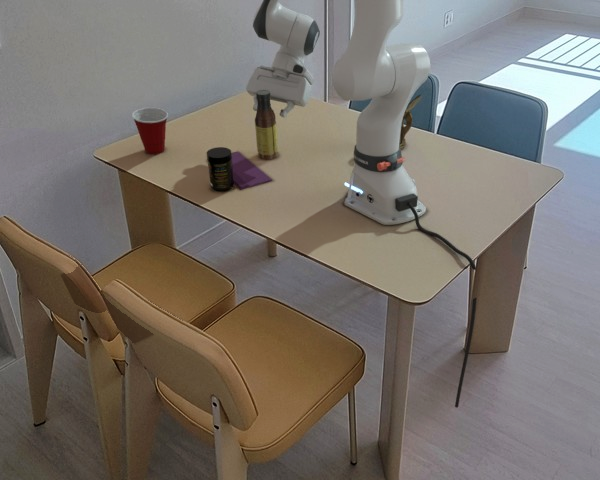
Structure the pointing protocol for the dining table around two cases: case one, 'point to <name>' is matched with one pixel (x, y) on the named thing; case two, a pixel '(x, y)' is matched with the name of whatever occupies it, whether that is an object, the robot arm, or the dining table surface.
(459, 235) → the dining table surface
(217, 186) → the supplement container
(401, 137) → the wooden mug
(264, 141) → the sauce bottle
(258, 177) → the purple flat rectangular panel
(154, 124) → the plastic cup
